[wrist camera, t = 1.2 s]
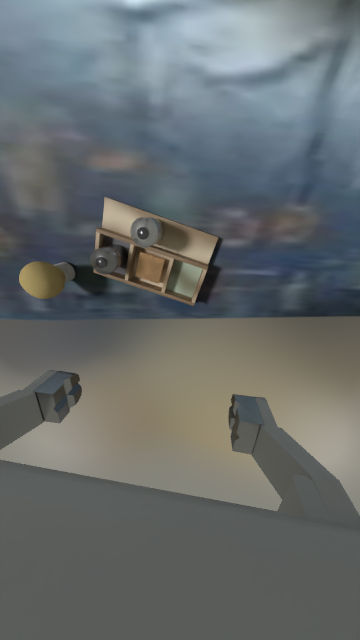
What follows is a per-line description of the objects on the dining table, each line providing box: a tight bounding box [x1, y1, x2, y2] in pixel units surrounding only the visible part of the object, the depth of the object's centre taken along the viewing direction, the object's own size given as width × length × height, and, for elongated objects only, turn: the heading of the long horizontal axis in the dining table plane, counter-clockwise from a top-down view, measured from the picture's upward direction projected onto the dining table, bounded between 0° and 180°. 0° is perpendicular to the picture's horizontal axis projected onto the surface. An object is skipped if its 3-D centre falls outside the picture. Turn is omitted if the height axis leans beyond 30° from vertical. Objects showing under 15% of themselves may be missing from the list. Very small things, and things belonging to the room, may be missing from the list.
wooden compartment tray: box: [94, 197, 218, 306], centre depth 34 cm, size 13×20×3 cm, turn 73°
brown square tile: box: [136, 251, 166, 284], centre depth 34 cm, size 5×5×1 cm
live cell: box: [130, 217, 165, 248], centre depth 29 cm, size 4×4×7 cm
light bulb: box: [19, 261, 75, 299], centre depth 34 cm, size 6×6×10 cm
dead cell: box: [90, 244, 128, 275], centre depth 32 cm, size 4×4×7 cm
